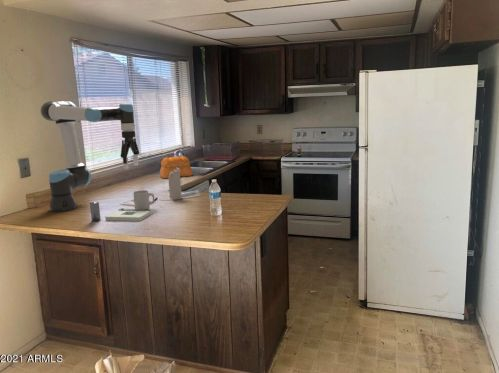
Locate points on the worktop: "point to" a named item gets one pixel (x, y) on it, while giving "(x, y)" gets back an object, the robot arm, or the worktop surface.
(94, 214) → the grey metal cylinder
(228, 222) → the worktop surface
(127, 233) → the worktop surface
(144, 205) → the mug
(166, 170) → the bread
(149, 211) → the plate
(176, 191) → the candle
